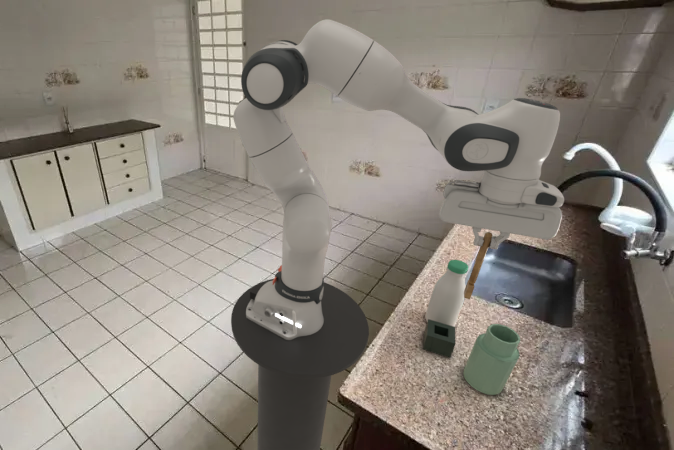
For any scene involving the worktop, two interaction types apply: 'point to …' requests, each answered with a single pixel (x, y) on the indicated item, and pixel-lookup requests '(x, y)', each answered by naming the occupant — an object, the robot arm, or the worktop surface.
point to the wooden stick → (477, 265)
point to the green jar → (492, 359)
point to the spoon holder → (439, 338)
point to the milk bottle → (448, 294)
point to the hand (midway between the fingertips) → (484, 246)
